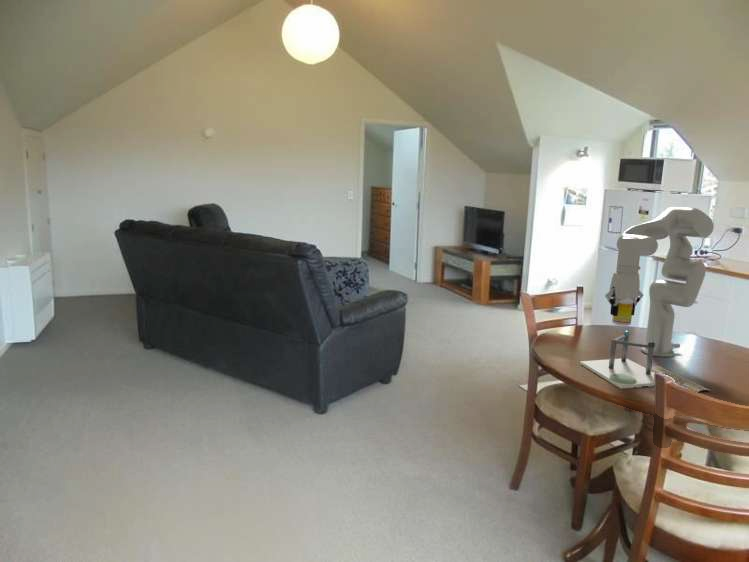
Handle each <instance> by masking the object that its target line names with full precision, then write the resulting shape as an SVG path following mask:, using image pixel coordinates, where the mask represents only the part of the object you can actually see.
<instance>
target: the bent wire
mask: <svg viewBox="0 0 749 562" xmlns="http://www.w3.org/2000/svg"><path fill="white" fill-rule="evenodd" d="M630 336H631V332H630V331H629V330H624V331H623V335H620V336H619V337H616V338H615V339H614V338H613V339H611V341H610V343H611V344H610V353H609V369H614V361H615V359H616V350H617V345H622V348H621V349H622V350H621V357H620V359H621V361H622V362H626V358H627V356H628V355H627V354H628V347H629V346H632V347H639V348H641V347H645V348H648V354H647V357H646V366H645V368H646V373H645V374H647V375H651V368H652V367H653V366H652V365H653V360H654V359H653V358H654V356H653V352H654V347H655V343H654V342H652V341H651V342H649V343H648V345H647V344H646V343H639V342H632V341H631V342H630V341H629V338H630ZM627 359H628V358H627Z"/></svg>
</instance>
